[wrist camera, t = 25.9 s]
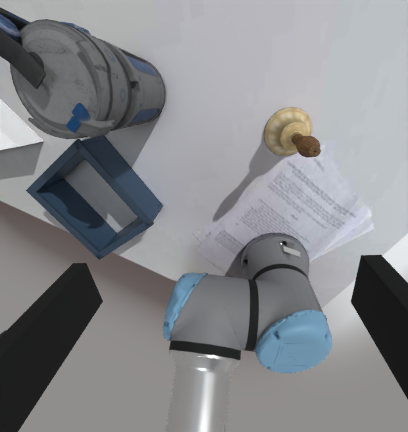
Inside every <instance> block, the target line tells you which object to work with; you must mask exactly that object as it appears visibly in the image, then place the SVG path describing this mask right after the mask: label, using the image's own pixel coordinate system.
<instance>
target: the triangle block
mask: <svg viewBox="0 0 408 432" xmlns="http://www.w3.org/2000/svg"><path fill="white" fill-rule="evenodd" d="M38 142H43V140H42V139H41V138H40V137H39V136H38V135H37V134H36V133H35V132H34V131H33V130H32V129H31V128H30V127H29V126H28V125H27V124H26V123H25V122H24V121H23V120H22V119H21V118H20V117H18V116H17V115H16V114H15V113H14V112H13V111H12V110H11V109H10V108H9V107H8V106H7V105H6V104H5V103H4V102H3V101H2V100H1V99H0V150H3V149H8V148H14V147H20V146H24V145H29V144H33V143H38Z"/></svg>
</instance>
